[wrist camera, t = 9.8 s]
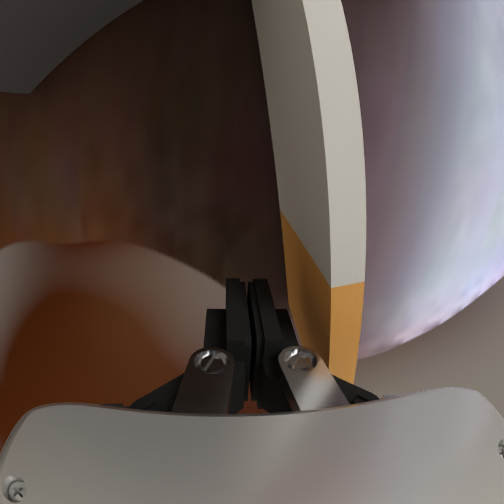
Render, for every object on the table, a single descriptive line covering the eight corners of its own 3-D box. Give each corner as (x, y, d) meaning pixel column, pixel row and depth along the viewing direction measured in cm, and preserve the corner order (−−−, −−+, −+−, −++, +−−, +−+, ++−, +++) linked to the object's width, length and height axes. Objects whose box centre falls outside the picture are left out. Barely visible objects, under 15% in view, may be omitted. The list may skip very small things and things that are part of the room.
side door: (240, -47, 9) (253, -142, 2) (262, -48, 9) (288, -140, 2) (286, 305, 18) (322, 415, 10) (305, 302, 18) (351, 408, 10)
